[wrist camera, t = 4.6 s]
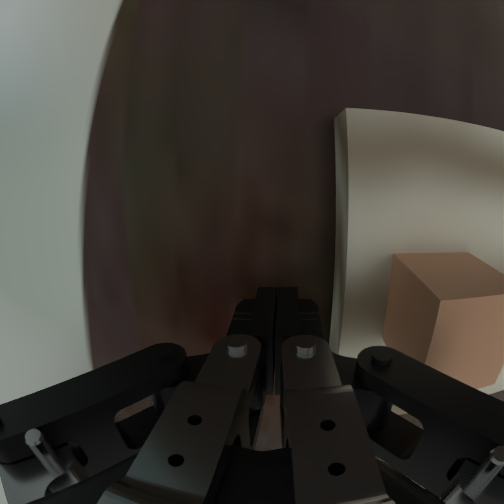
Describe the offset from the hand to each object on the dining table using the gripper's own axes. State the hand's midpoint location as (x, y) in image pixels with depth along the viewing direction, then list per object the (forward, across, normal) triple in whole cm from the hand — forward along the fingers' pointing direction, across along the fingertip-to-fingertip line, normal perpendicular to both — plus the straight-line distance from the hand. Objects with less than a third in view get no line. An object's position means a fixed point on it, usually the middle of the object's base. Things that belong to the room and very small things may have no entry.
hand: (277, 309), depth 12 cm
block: (+1, -7, 0) cm, 7 cm away
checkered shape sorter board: (+4, -18, 0) cm, 18 cm away
